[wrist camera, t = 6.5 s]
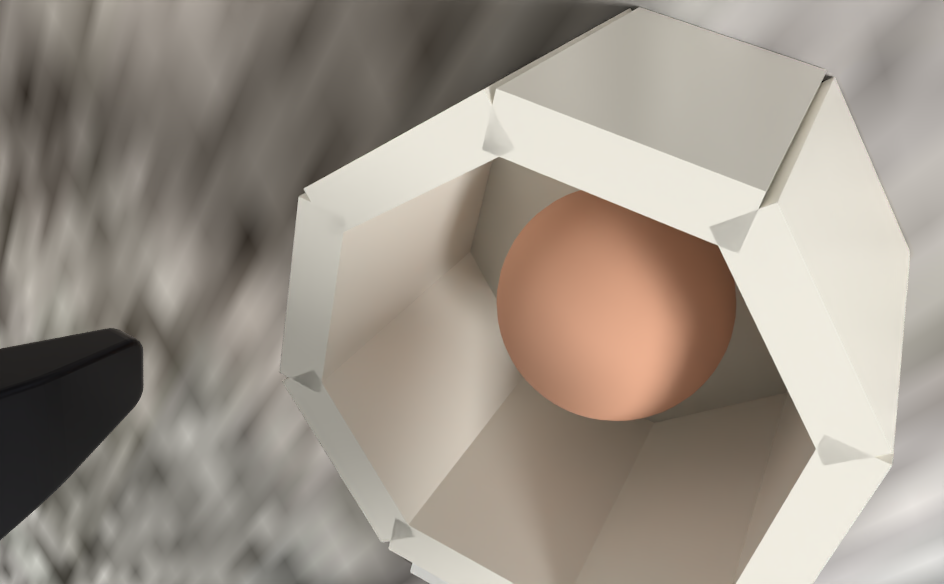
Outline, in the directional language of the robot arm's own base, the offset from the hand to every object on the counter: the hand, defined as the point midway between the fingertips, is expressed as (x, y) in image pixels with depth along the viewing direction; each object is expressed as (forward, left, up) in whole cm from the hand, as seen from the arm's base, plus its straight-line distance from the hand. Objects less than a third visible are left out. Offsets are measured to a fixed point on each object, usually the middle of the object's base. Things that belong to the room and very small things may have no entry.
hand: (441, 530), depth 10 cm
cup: (0, 0, -9) cm, 9 cm away
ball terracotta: (0, 0, -6) cm, 6 cm away
